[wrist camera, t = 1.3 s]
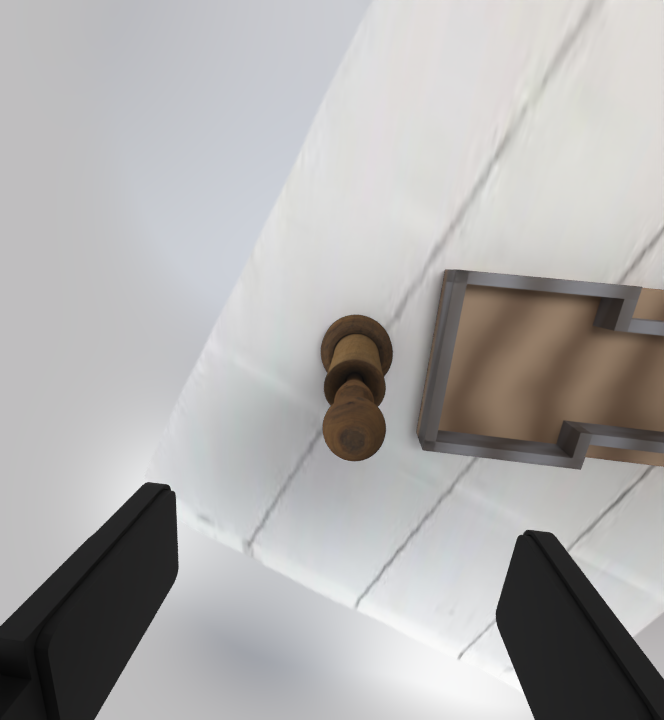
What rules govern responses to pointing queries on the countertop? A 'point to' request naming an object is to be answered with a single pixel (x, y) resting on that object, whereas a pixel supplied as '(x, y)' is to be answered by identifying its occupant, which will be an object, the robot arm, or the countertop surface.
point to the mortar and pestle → (355, 386)
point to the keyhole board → (545, 371)
